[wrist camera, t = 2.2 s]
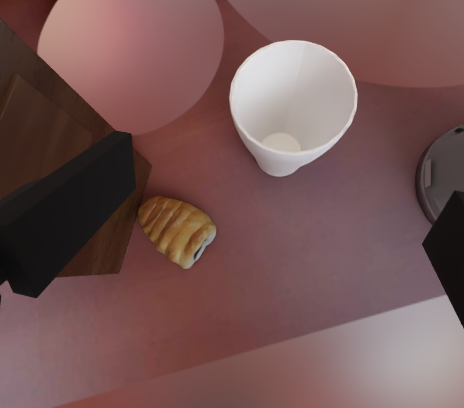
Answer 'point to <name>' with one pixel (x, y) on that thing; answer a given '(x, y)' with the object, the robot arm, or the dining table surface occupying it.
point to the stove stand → (56, 145)
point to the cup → (291, 104)
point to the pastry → (176, 229)
